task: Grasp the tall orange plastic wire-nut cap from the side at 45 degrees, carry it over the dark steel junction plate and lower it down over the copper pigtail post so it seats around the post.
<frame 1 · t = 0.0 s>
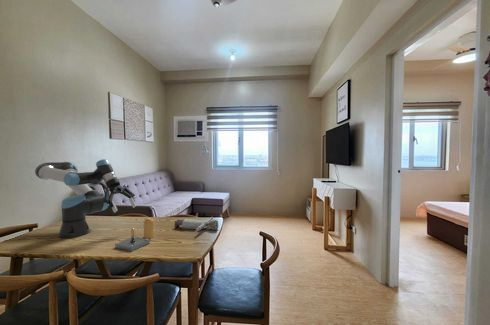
hand: (125, 209, 141), 15 cm above the table, tool tilted 35°, fingers open, 13 cm apart
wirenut: (148, 236, 135), on the table
grey base with peg: (132, 245, 122), on the table
toy: (197, 229, 150), on the table
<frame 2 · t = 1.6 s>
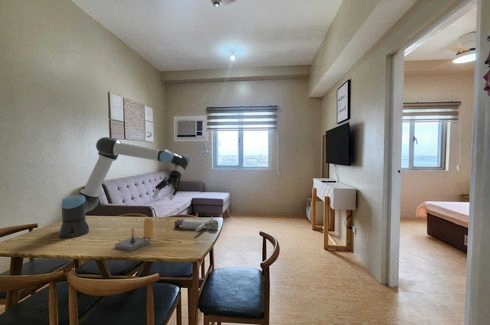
hand: (161, 198, 144), 21 cm above the table, tool tilted 45°, fingers open, 13 cm apart
nothing on the table moved.
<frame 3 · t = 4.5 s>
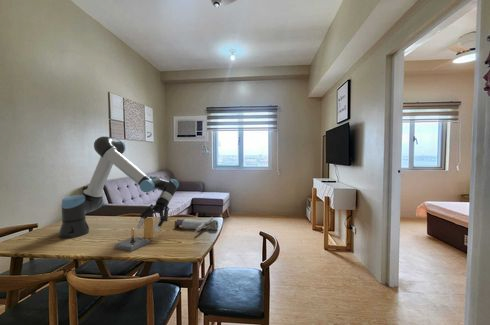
hand: (146, 229, 133), 5 cm above the table, tool tilted 45°, fingers open, 13 cm apart
nothing on the table moved.
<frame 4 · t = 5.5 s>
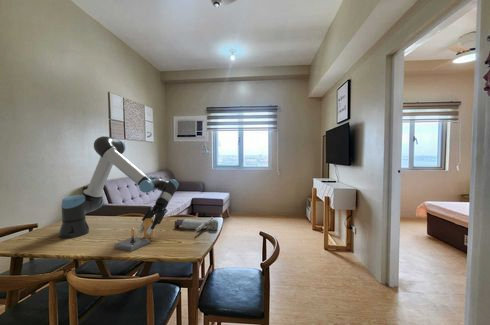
hand: (143, 233, 131), 3 cm above the table, tool tilted 45°, fingers closed on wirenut, 5 cm apart
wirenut: (148, 236, 135), on the table, touching gripper
everything else where it was.
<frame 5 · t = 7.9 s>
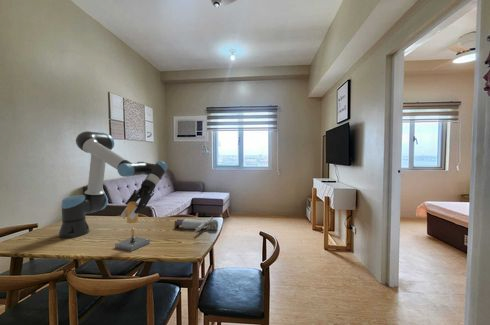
hand: (126, 217, 118), 16 cm above the table, tool tilted 45°, fingers closed on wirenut, 5 cm apart
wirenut: (132, 221, 122), point 13 cm above the table, touching gripper
everything else where it was.
when the fingers open (6 cm above the table, at t = 10.5 s): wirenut stays where it is, resting on grey base with peg.
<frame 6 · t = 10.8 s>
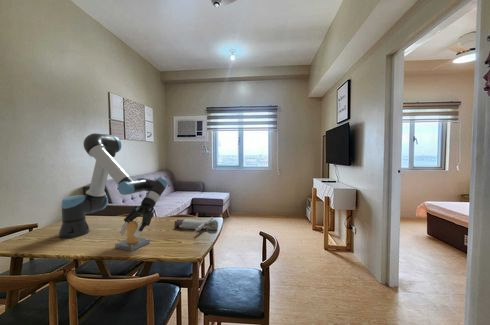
hand: (127, 235, 119), 6 cm above the table, tool tilted 45°, fingers open, 10 cm apart
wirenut: (132, 241, 122), point 2 cm above the table, touching grey base with peg
everything else where it was.
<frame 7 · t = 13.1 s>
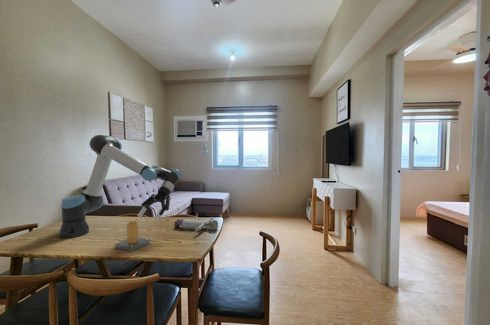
hand: (147, 218, 132), 12 cm above the table, tool tilted 45°, fingers open, 13 cm apart
nothing on the table moved.
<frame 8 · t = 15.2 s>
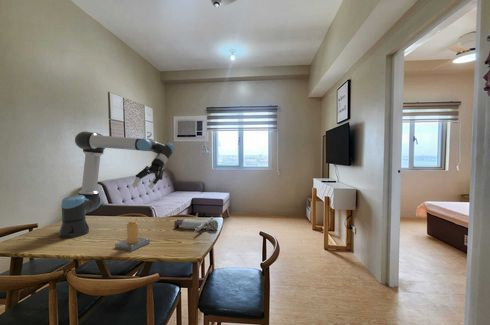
hand: (141, 187, 135), 30 cm above the table, tool tilted 45°, fingers open, 13 cm apart
nothing on the table moved.
at the end: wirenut 0.0 cm off-centre on the grey base with peg, point 2.0 cm above the grey base with peg's base; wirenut tilted 0°; the gripper is holding nothing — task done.
